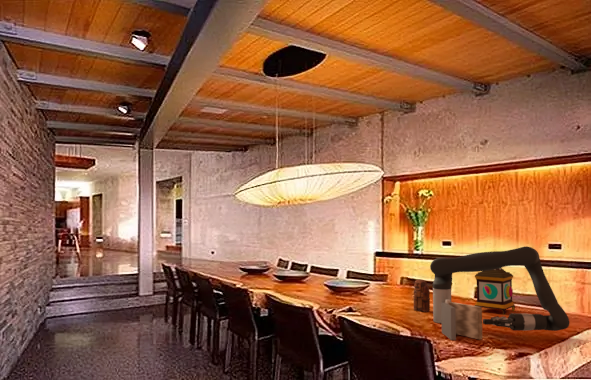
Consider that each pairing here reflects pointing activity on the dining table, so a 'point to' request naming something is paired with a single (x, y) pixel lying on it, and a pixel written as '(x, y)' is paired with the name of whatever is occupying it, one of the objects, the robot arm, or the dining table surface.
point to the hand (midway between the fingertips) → (483, 321)
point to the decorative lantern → (495, 289)
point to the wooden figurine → (421, 296)
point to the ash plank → (468, 320)
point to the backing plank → (448, 320)
